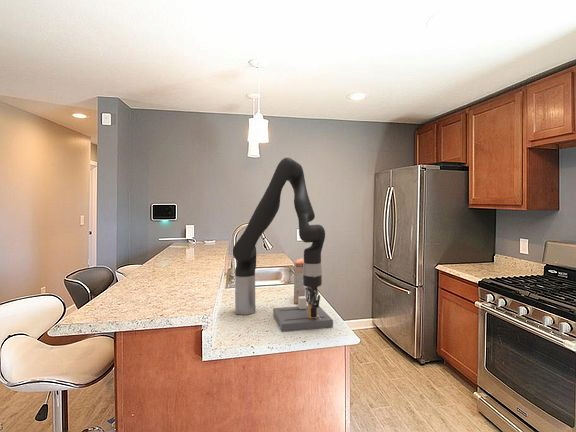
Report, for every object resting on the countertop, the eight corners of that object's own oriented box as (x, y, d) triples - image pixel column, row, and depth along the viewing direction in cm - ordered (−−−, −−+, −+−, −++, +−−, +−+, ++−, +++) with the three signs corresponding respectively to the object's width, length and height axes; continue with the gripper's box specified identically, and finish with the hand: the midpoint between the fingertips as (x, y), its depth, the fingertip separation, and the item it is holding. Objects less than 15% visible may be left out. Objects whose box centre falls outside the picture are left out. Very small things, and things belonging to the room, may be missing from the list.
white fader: (300, 309, 142) (299, 298, 141) (298, 307, 144) (298, 296, 144) (306, 308, 142) (306, 298, 142) (304, 306, 145) (304, 296, 145)
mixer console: (281, 331, 125) (281, 323, 125) (273, 314, 145) (273, 307, 145) (332, 327, 130) (332, 319, 129) (318, 311, 149) (318, 304, 149)
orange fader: (309, 318, 130) (309, 306, 130) (307, 316, 133) (307, 304, 133) (317, 317, 131) (317, 306, 131) (314, 315, 134) (314, 304, 133)
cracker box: (305, 304, 160) (305, 262, 159) (293, 303, 161) (293, 262, 160) (309, 296, 173) (309, 257, 173) (298, 295, 175) (298, 257, 174)
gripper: (299, 270, 137) (299, 310, 138) (308, 277, 124) (308, 322, 124) (316, 269, 139) (316, 309, 139) (326, 276, 125) (326, 320, 126)
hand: (312, 315), depth 132 cm, fingers closed on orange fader, 3 cm apart
